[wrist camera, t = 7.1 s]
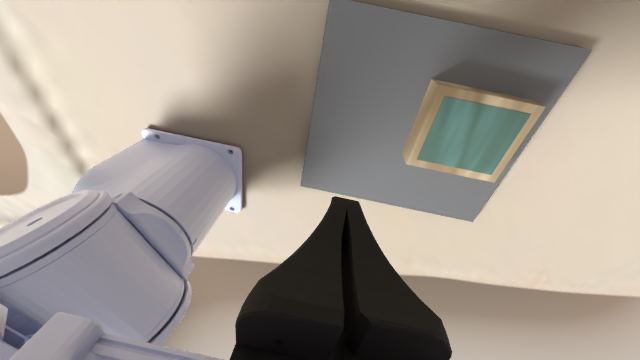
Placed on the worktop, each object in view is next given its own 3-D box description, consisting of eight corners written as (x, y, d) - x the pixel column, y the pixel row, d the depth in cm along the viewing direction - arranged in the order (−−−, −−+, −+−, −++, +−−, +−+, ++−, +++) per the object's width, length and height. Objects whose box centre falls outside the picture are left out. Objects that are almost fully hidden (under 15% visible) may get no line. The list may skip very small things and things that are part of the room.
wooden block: (406, 164, 19) (494, 183, 19) (439, 85, 16) (546, 107, 16) (401, 153, 21) (483, 169, 21) (431, 78, 18) (527, 98, 18)
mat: (301, 181, 25) (300, 185, 24) (330, -3, 16) (330, -4, 16) (469, 216, 25) (472, 221, 24) (582, 48, 16) (592, 49, 16)
